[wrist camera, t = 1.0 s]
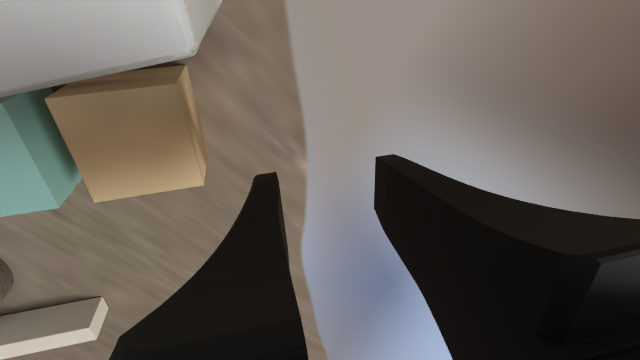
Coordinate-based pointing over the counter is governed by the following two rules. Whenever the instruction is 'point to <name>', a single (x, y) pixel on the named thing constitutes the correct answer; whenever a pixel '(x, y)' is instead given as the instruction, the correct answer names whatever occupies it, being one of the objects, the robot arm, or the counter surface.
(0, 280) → the aluminium part
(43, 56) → the small box
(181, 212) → the counter surface
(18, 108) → the teal block
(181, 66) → the oak block
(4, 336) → the frame
